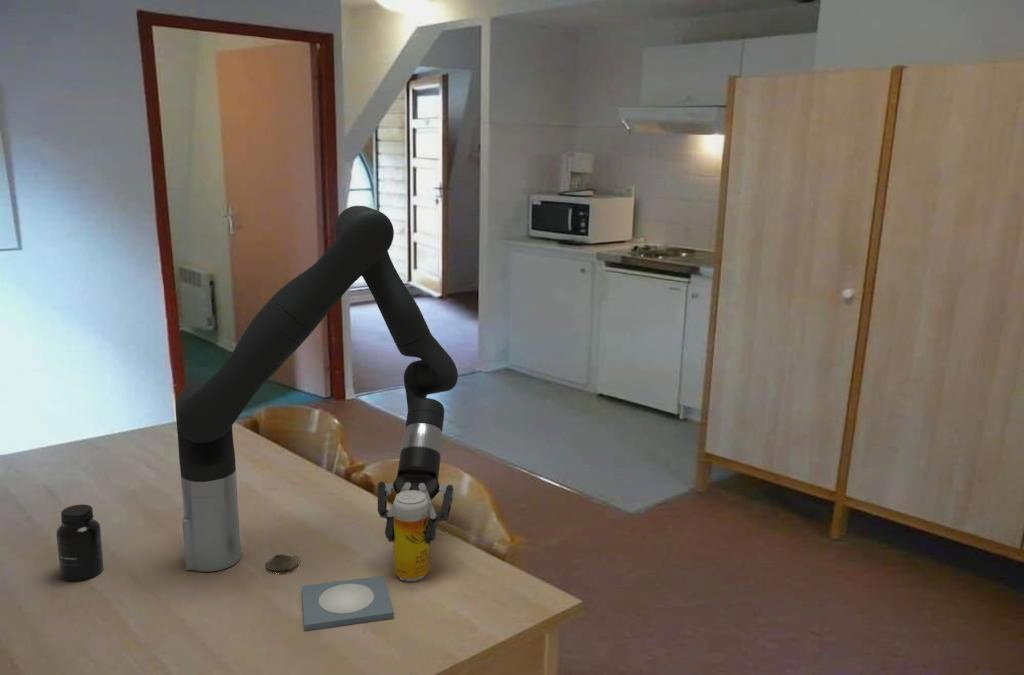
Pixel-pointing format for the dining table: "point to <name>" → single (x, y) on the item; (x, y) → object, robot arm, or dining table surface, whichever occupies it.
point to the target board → (346, 602)
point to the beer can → (410, 535)
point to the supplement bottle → (79, 544)
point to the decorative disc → (282, 564)
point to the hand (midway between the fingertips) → (409, 541)
